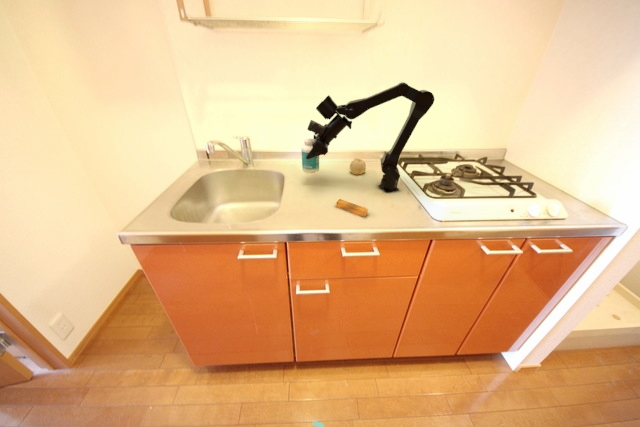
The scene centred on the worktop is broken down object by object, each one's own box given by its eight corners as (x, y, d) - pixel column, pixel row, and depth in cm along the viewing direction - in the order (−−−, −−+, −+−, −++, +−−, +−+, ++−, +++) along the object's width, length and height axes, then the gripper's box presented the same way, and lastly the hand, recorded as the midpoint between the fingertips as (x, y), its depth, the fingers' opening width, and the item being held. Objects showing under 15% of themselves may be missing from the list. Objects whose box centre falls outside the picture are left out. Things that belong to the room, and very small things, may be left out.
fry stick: (336, 206, 87) (336, 201, 86) (339, 204, 89) (339, 198, 87) (364, 217, 81) (365, 211, 80) (367, 214, 83) (368, 208, 82)
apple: (349, 168, 119) (358, 155, 116) (361, 177, 117) (370, 165, 114) (344, 168, 112) (353, 155, 109) (357, 178, 110) (366, 165, 107)
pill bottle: (320, 173, 98) (319, 142, 90) (302, 174, 97) (301, 142, 90) (318, 167, 104) (318, 137, 97) (302, 168, 103) (300, 137, 96)
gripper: (319, 109, 95) (295, 136, 102) (318, 117, 80) (290, 149, 86) (337, 128, 100) (313, 153, 106) (340, 140, 84) (311, 168, 90)
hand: (307, 155), depth 97 cm, fingers closed on pill bottle, 7 cm apart
